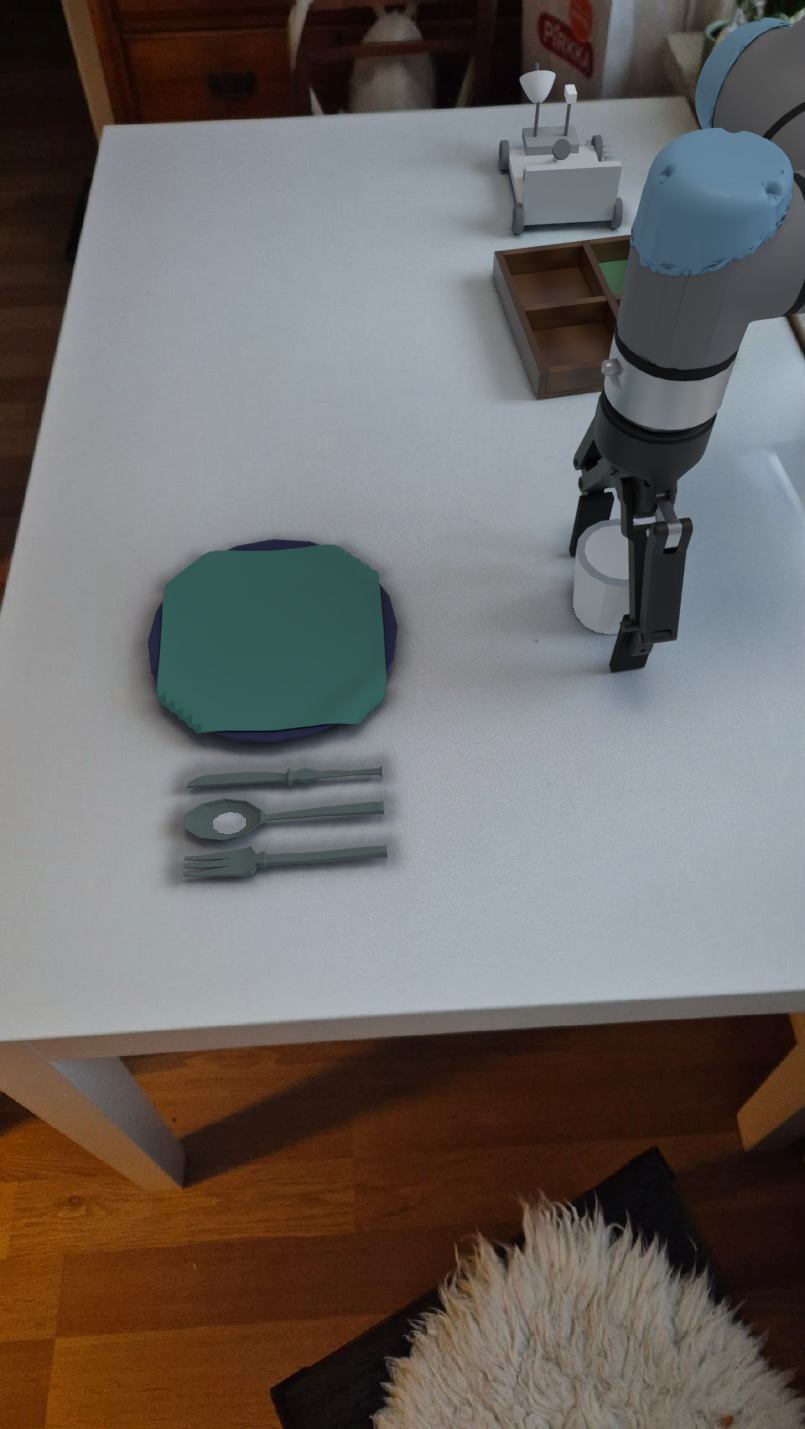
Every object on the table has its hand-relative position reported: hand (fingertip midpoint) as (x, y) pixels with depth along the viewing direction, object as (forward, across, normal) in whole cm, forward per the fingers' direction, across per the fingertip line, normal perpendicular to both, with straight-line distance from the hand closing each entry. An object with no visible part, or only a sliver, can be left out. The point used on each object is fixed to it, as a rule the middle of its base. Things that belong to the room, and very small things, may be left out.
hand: (605, 606), depth 83 cm
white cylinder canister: (0, 0, 0) cm, 0 cm away
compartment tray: (0, -35, +10) cm, 36 cm away
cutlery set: (+1, +4, -28) cm, 28 cm away
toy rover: (0, -59, +11) cm, 60 cm away
